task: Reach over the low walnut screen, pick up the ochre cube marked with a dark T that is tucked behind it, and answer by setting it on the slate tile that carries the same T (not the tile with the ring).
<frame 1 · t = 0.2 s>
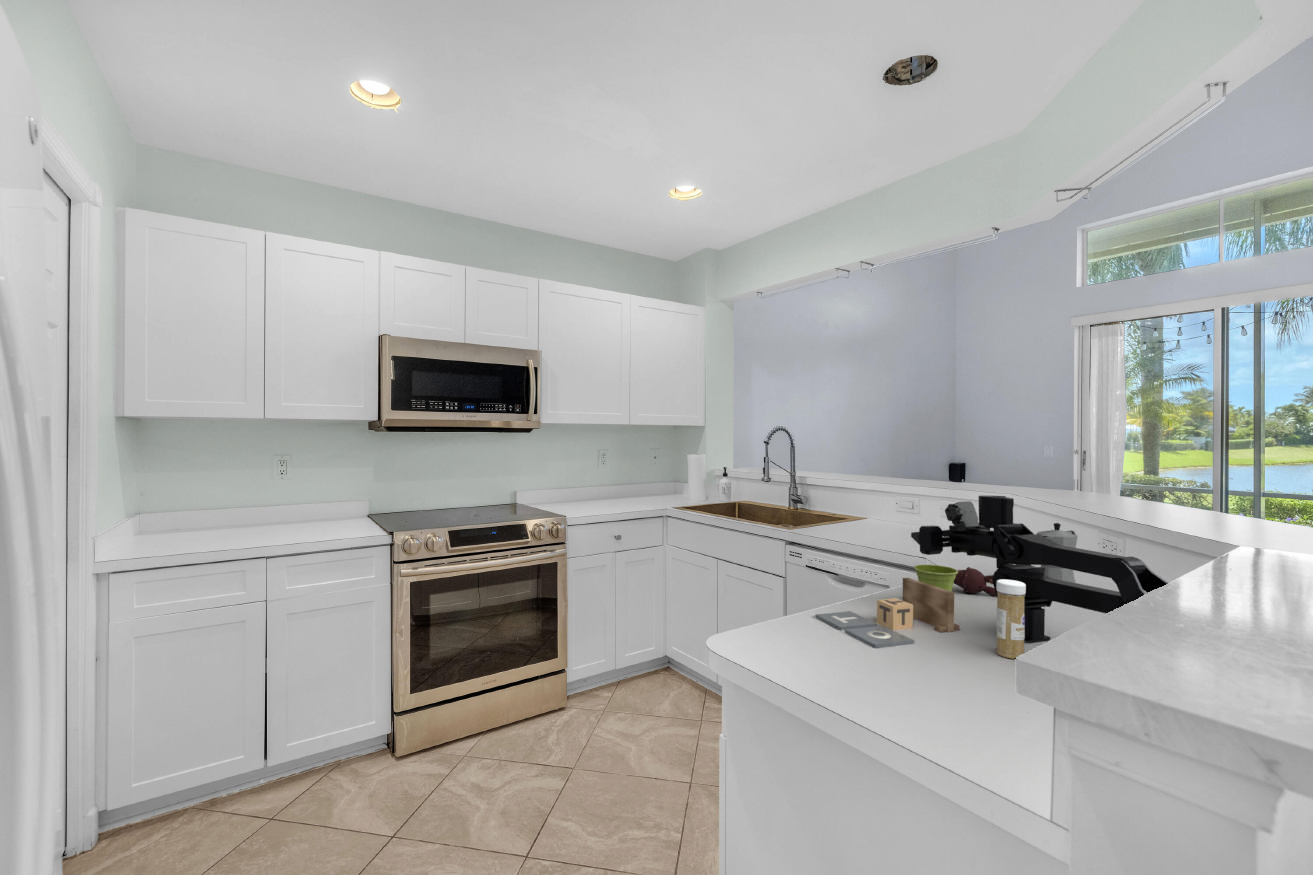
hand: (926, 533, 140), 17 cm above the counter, tool horizontal, fingers open, 9 cm apart
tile O: (878, 637, 114), on the counter
dark red bulbous piece: (968, 593, 150), on the counter
sprinkles bottle: (1010, 656, 105), on the counter
tile T: (845, 621, 124), on the counter
letter cube: (894, 625, 122), on the counter
plant pot: (935, 605, 138), on the counter
coffeepot: (1058, 591, 153), on the counter
screen: (926, 621, 124), on the counter
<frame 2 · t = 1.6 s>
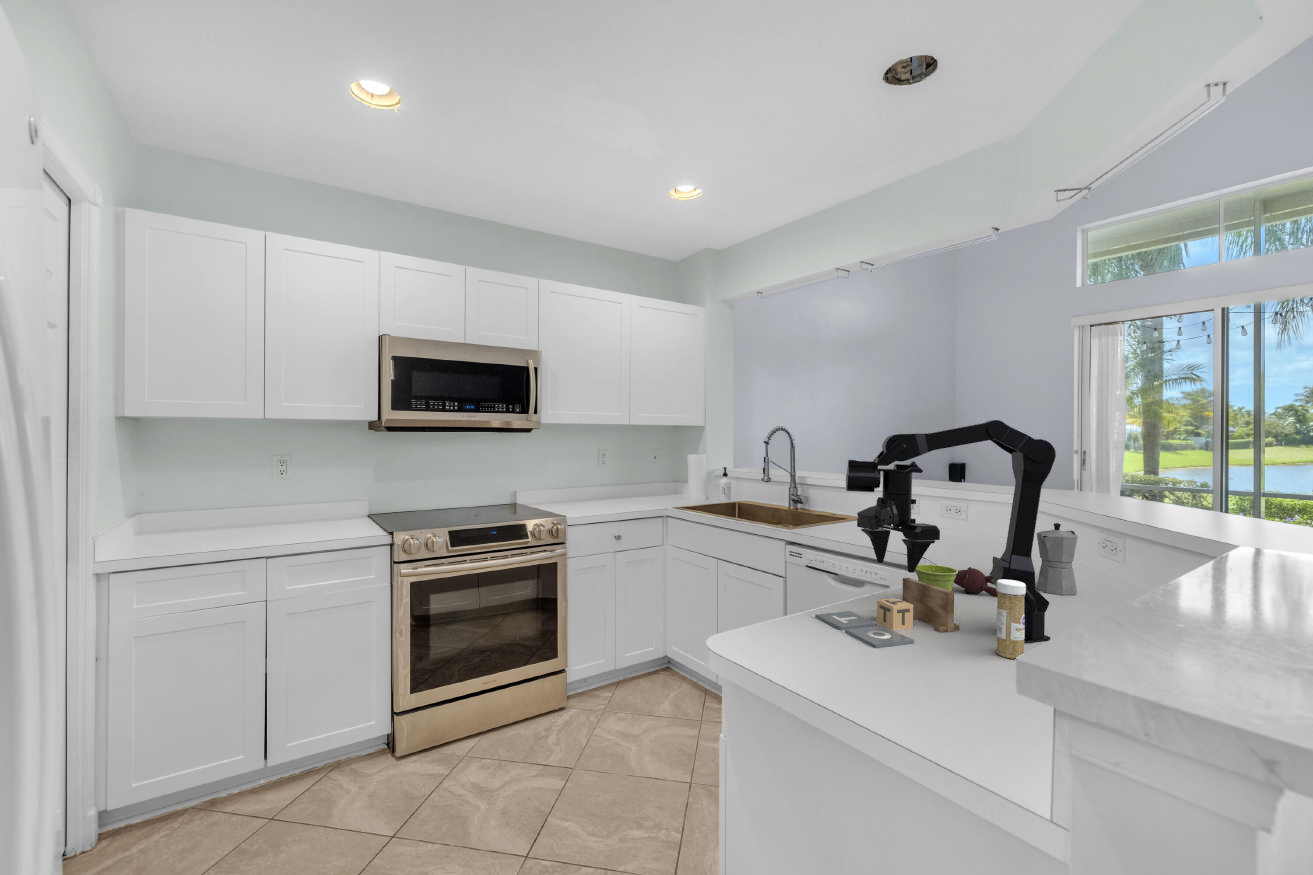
hand: (895, 567, 122), 12 cm above the counter, tool pointing down, fingers open, 9 cm apart
nothing on the counter moved.
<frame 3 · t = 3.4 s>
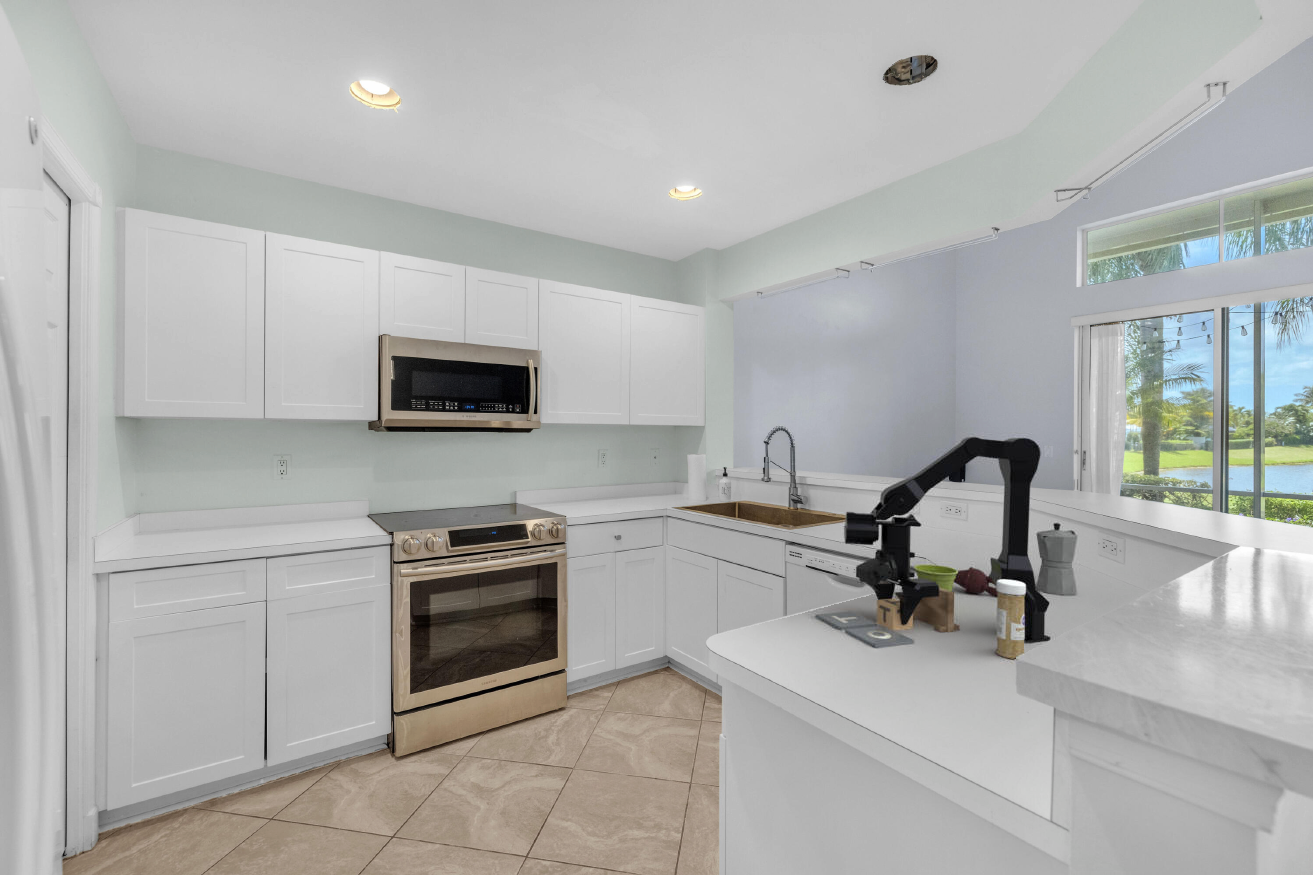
hand: (894, 620, 122), 1 cm above the counter, tool pointing down, fingers closed on letter cube, 5 cm apart
letter cube: (894, 625, 122), on the counter, touching gripper
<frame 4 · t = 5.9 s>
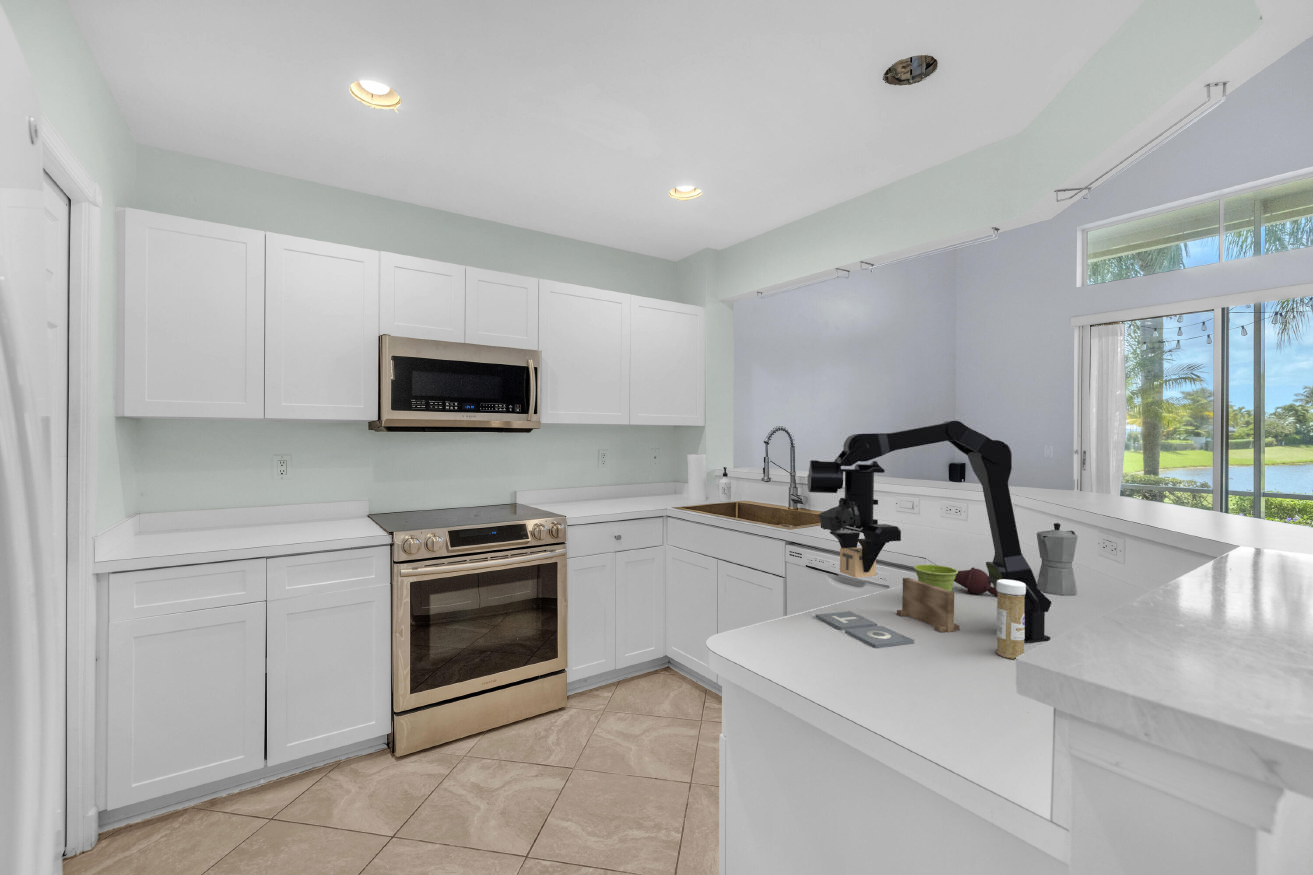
hand: (857, 569, 120), 12 cm above the counter, tool pointing down, fingers closed on letter cube, 5 cm apart
letter cube: (857, 574, 120), point 11 cm above the counter, touching gripper
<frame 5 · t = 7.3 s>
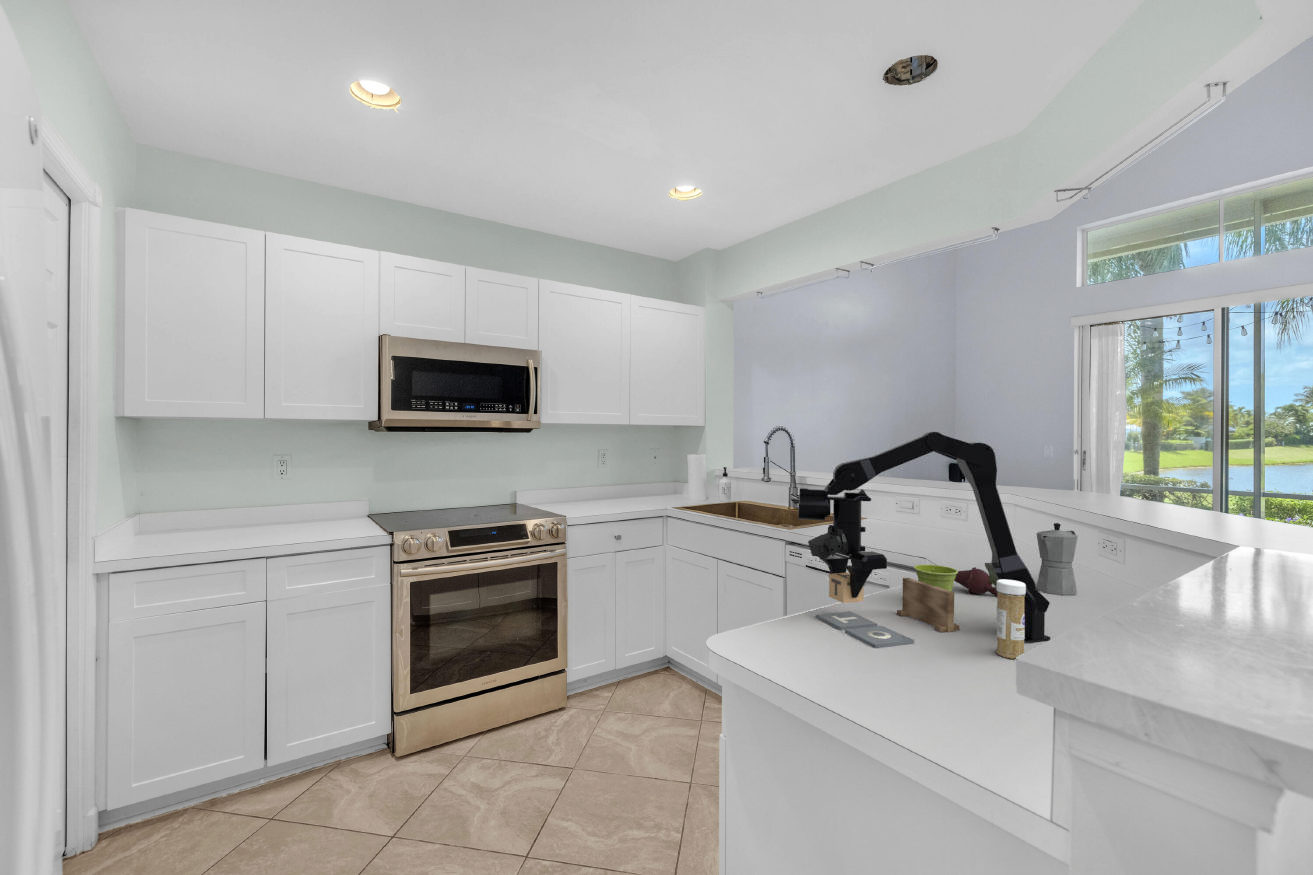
hand: (846, 594, 124), 6 cm above the counter, tool pointing down, fingers closed on letter cube, 5 cm apart
letter cube: (845, 598, 124), point 5 cm above the counter, touching gripper
when the fingers open (3 cm above the counter, at t = 8.3 s): letter cube drops 1 cm, resting on tile T.
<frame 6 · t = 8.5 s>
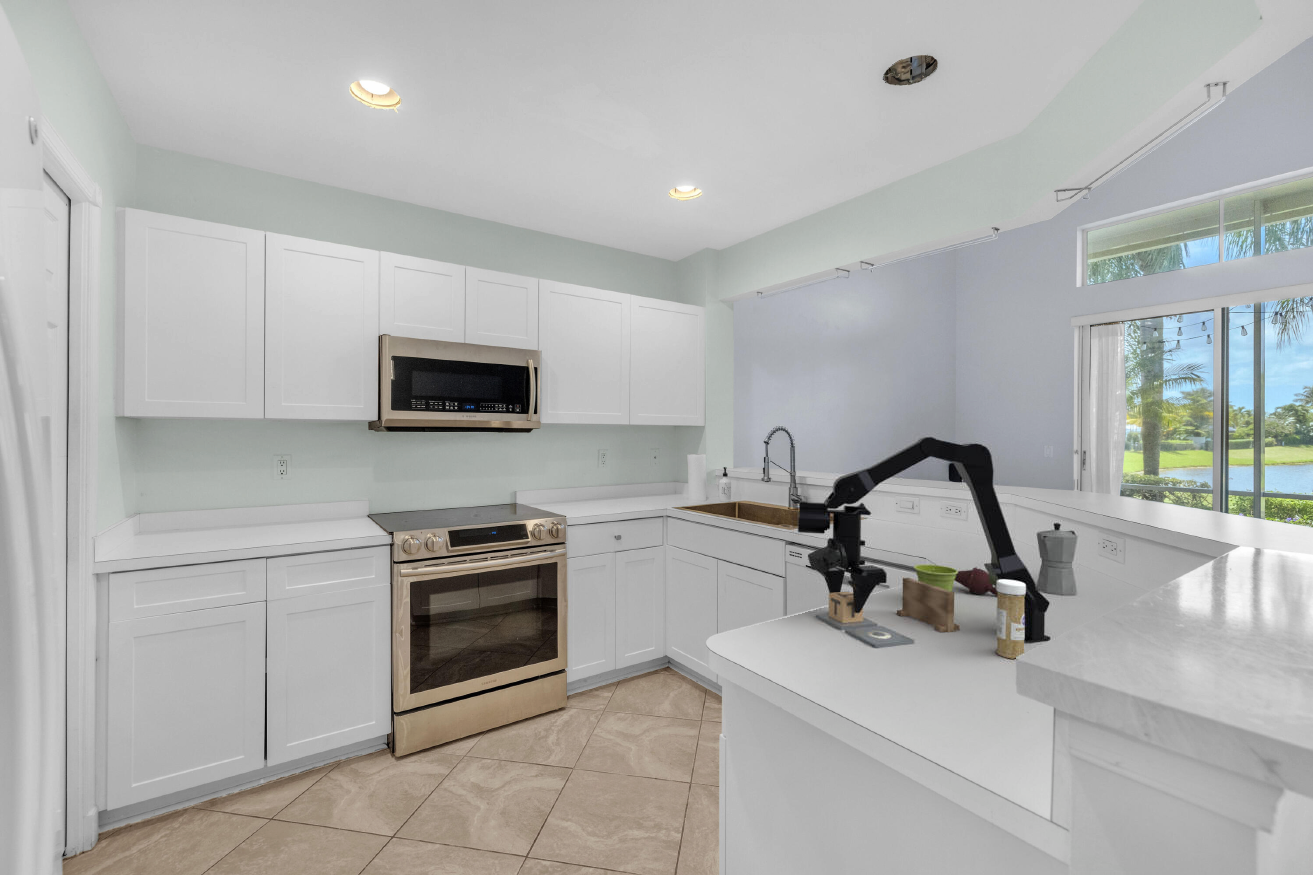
hand: (845, 607, 124), 3 cm above the counter, tool pointing down, fingers open, 7 cm apart
letter cube: (845, 618, 124), point 1 cm above the counter, touching tile T
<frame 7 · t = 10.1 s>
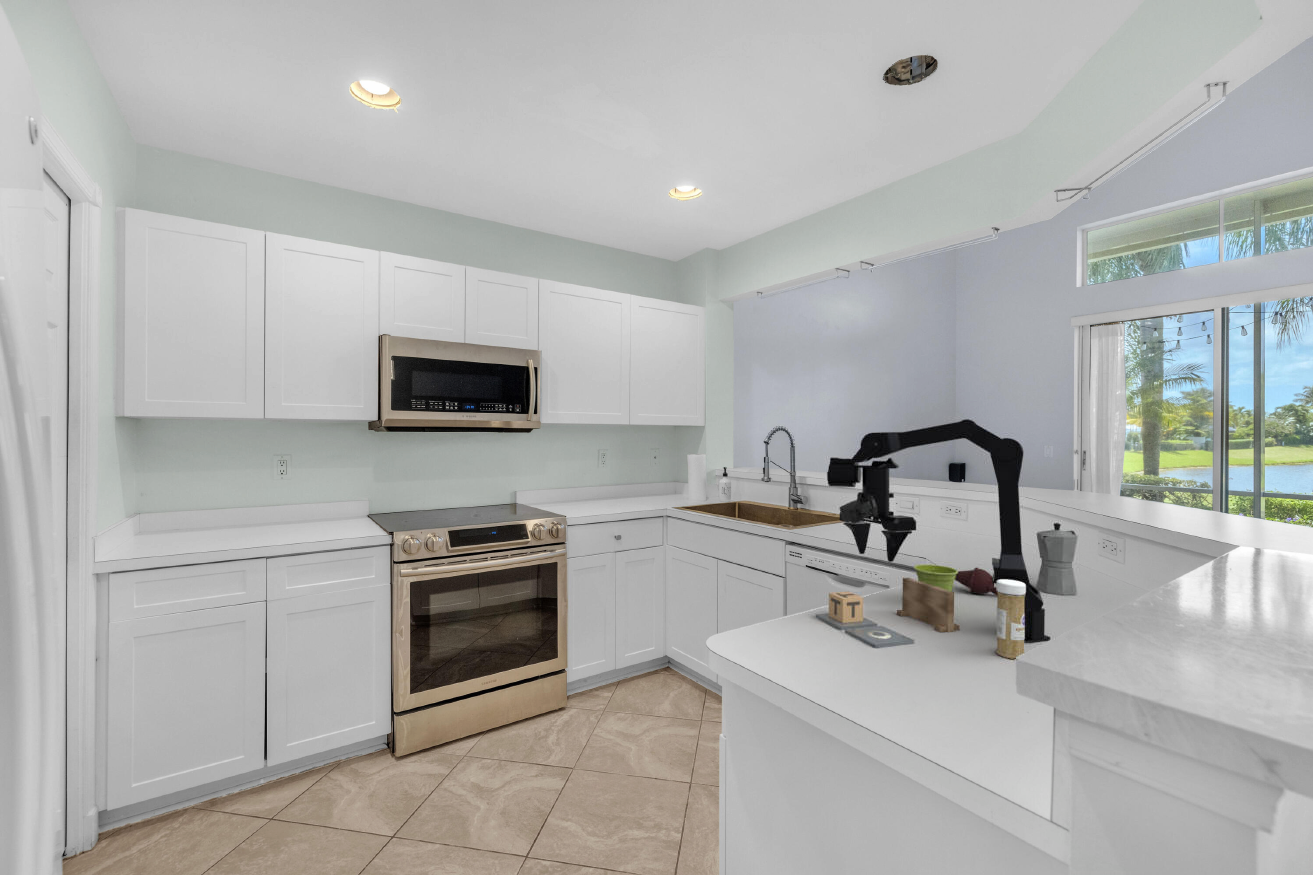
hand: (875, 557, 130), 13 cm above the counter, tool pointing down, fingers open, 9 cm apart
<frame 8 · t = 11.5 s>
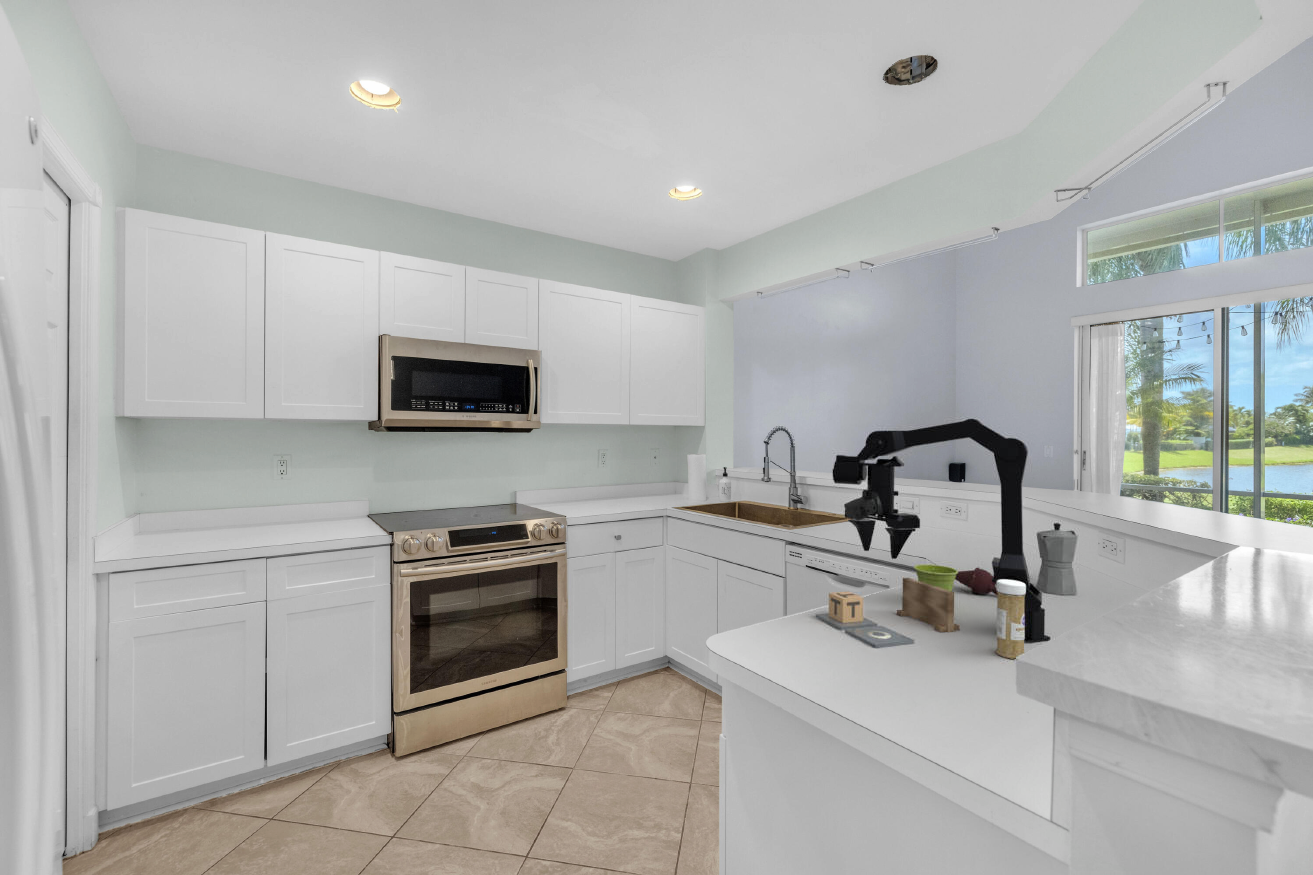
hand: (879, 554, 131), 13 cm above the counter, tool pointing down, fingers open, 9 cm apart
at the end: letter cube inside the target area on the tile T (0.0 cm from its centre), point 0.7 cm above the tile T's base; letter cube tilted 0°; the gripper is holding nothing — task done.
